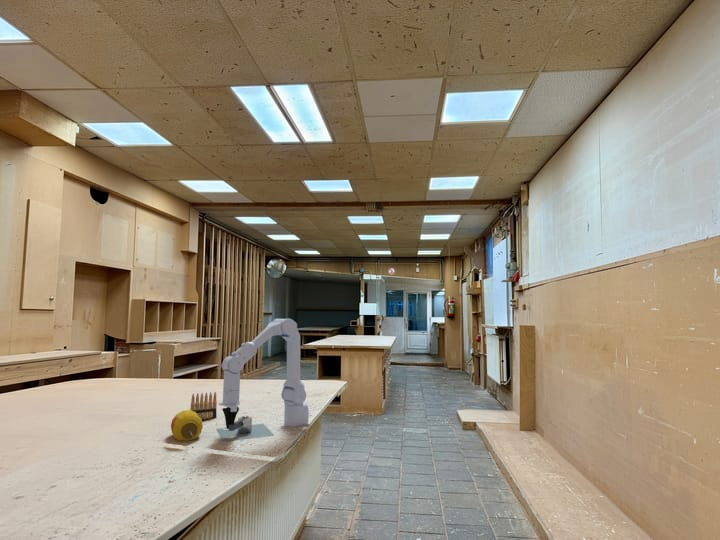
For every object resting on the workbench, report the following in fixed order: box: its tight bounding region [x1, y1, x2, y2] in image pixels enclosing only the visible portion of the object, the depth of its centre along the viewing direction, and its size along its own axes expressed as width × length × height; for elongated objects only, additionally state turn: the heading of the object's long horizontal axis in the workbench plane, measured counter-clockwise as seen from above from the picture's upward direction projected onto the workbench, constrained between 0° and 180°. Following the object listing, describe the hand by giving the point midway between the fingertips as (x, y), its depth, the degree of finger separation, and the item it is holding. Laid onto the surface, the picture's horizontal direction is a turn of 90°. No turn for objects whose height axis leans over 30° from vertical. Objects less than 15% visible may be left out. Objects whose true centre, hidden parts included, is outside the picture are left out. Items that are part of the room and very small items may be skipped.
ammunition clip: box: [189, 391, 218, 423], centre depth 172 cm, size 11×2×12 cm, turn 119°
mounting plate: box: [216, 423, 275, 443], centre depth 151 cm, size 18×18×1 cm
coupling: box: [229, 415, 253, 433], centre depth 148 cm, size 12×5×5 cm, turn 166°
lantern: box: [170, 409, 203, 442], centre depth 146 cm, size 10×10×30 cm
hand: (229, 428), depth 146 cm, fingers closed
